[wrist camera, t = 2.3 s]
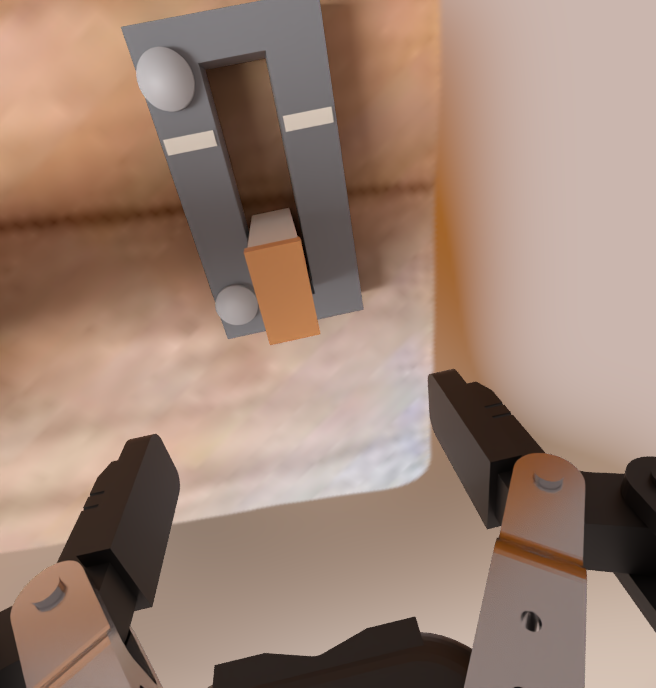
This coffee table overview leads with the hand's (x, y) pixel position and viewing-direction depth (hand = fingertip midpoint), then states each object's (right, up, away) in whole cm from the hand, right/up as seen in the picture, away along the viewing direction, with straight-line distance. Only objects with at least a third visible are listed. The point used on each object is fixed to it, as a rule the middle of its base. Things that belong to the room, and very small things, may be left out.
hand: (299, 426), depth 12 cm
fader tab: (-3, +9, +17) cm, 20 cm away
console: (-3, +13, +15) cm, 20 cm away
